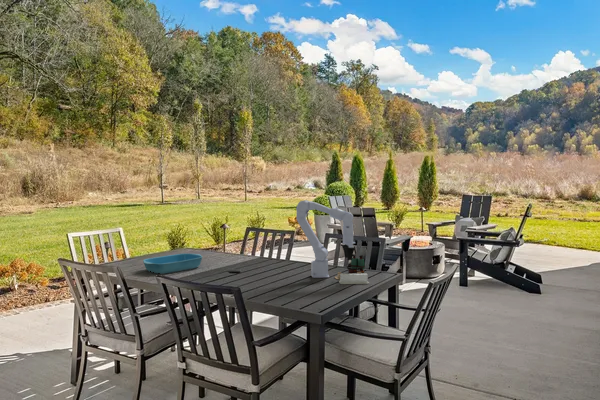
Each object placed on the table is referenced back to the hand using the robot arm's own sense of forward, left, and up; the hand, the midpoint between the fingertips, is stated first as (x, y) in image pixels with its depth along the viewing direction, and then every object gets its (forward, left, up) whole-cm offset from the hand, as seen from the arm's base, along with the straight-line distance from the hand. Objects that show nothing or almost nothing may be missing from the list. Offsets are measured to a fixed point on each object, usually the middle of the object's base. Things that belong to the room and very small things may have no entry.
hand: (348, 258), depth 238 cm
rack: (+1, -2, -10) cm, 11 cm away
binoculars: (+7, +11, -11) cm, 17 cm away
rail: (+1, -12, -10) cm, 16 cm away
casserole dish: (-101, +31, -11) cm, 106 cm away
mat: (+1, -12, -10) cm, 16 cm away
